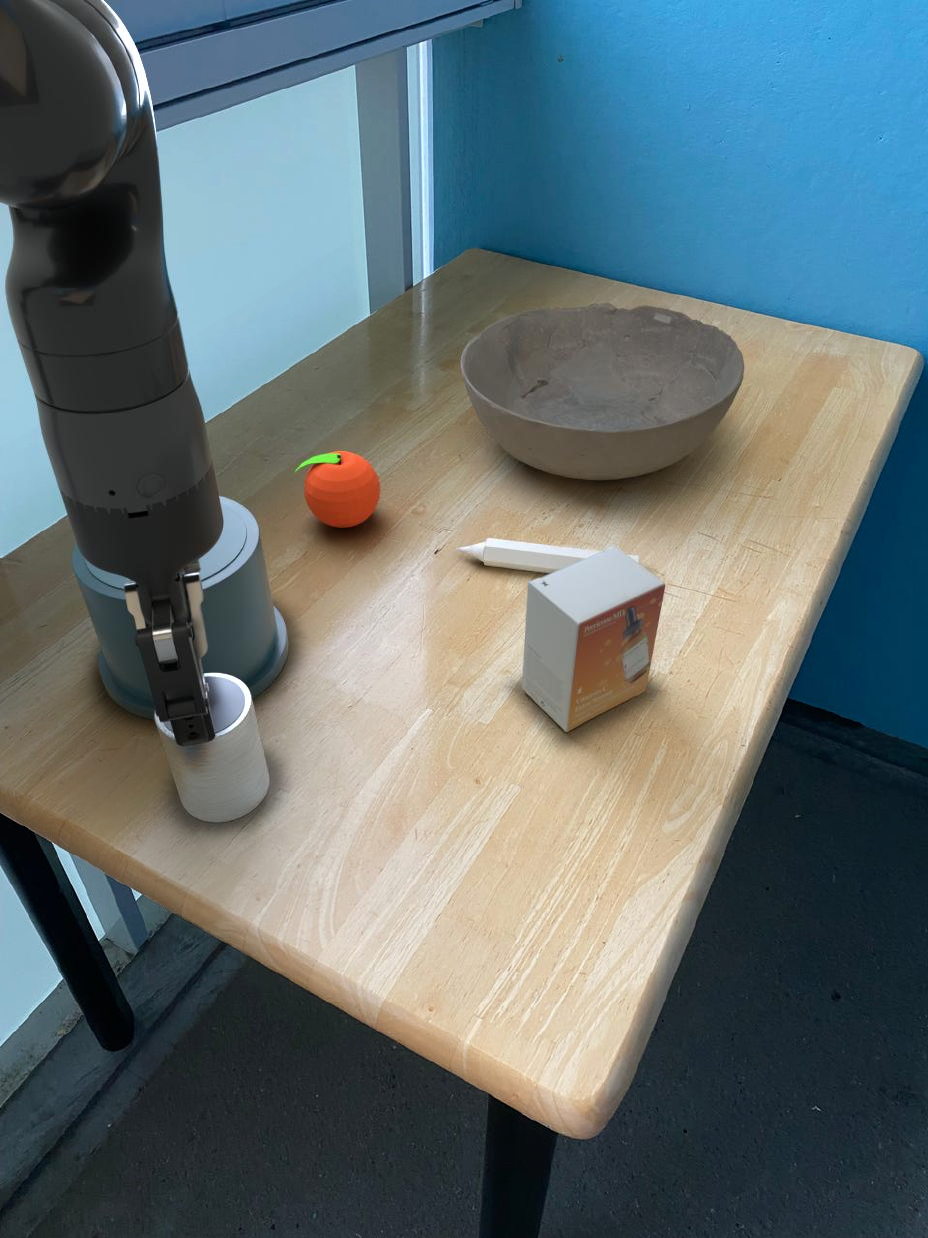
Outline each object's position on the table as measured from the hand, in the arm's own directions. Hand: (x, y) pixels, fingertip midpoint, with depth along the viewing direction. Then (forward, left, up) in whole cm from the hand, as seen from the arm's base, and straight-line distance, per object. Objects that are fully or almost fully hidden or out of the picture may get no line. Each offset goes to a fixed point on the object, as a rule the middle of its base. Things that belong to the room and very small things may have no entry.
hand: (192, 689), depth 57 cm
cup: (0, 0, -10) cm, 10 cm away
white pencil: (+29, +17, -10) cm, 35 cm away
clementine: (+13, +29, -10) cm, 33 cm away
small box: (+27, +2, -10) cm, 29 cm away
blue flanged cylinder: (-1, +14, -10) cm, 17 cm away
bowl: (+41, +36, -10) cm, 56 cm away
